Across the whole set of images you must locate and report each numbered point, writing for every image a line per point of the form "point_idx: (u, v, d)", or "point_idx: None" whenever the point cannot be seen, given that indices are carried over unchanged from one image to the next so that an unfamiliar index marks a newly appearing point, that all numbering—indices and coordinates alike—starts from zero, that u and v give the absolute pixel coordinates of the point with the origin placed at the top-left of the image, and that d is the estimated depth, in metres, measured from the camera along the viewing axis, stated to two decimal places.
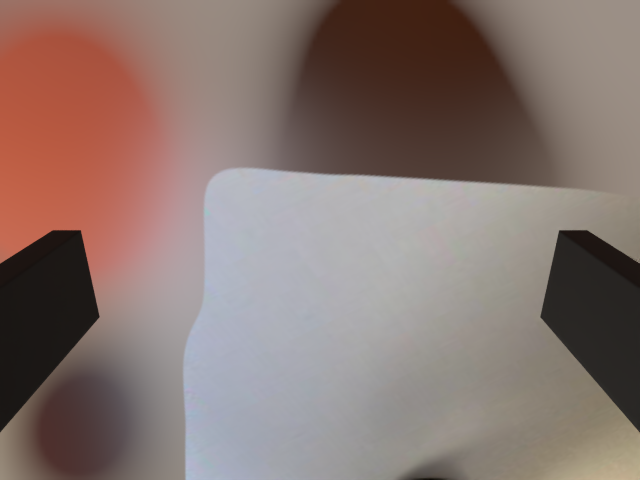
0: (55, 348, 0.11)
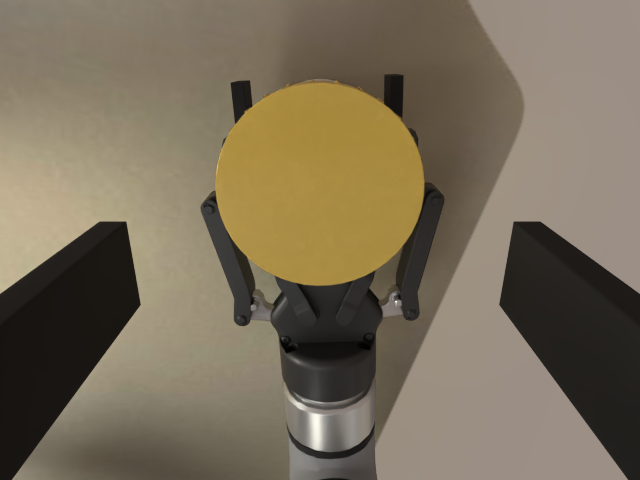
0: (107, 332, 0.11)
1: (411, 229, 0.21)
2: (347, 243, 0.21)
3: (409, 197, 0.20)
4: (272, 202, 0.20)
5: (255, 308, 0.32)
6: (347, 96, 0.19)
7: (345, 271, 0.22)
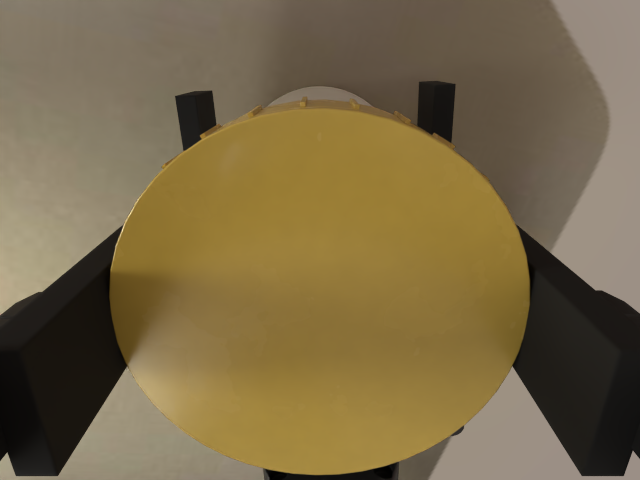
0: None
1: (496, 385, 0.11)
2: (372, 409, 0.11)
3: (497, 331, 0.10)
4: (225, 340, 0.10)
5: None
6: (379, 137, 0.09)
7: (367, 453, 0.12)
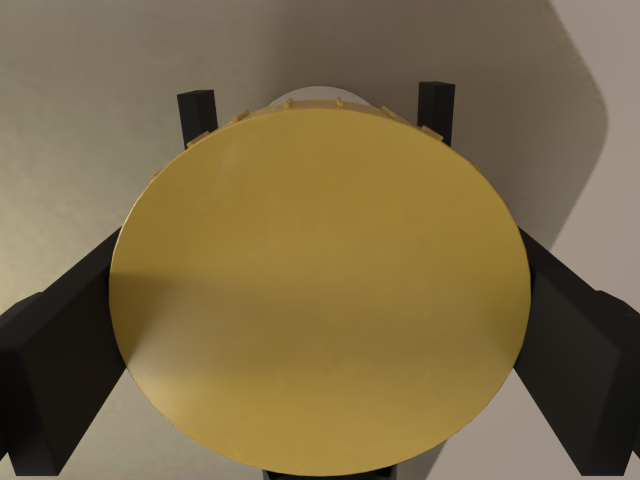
0: None
1: (343, 114, 0.08)
2: (414, 245, 0.09)
3: (268, 150, 0.09)
4: (362, 393, 0.11)
5: None
6: (128, 329, 0.10)
7: (484, 229, 0.09)
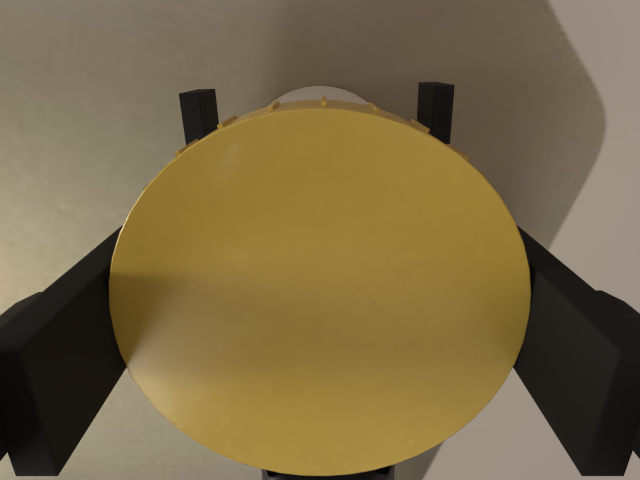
0: None
1: (126, 357, 0.10)
2: (206, 272, 0.10)
3: (176, 398, 0.11)
4: (393, 262, 0.09)
5: None
6: (371, 460, 0.12)
7: (163, 216, 0.09)
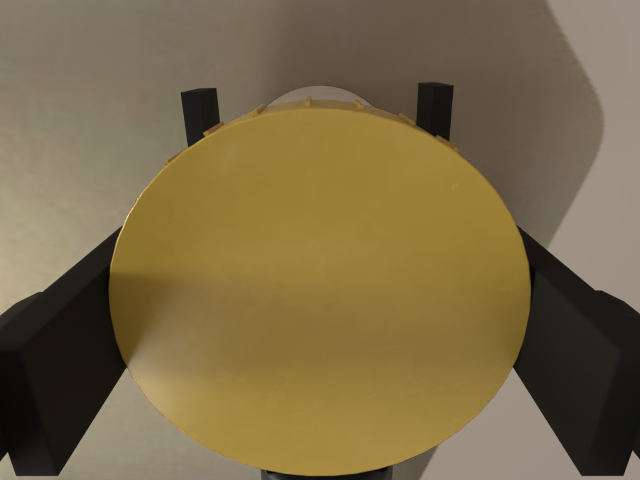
0: None
1: (402, 458, 0.12)
2: (297, 418, 0.11)
3: (440, 419, 0.11)
4: (230, 283, 0.10)
5: None
6: (493, 221, 0.09)
7: (259, 451, 0.11)
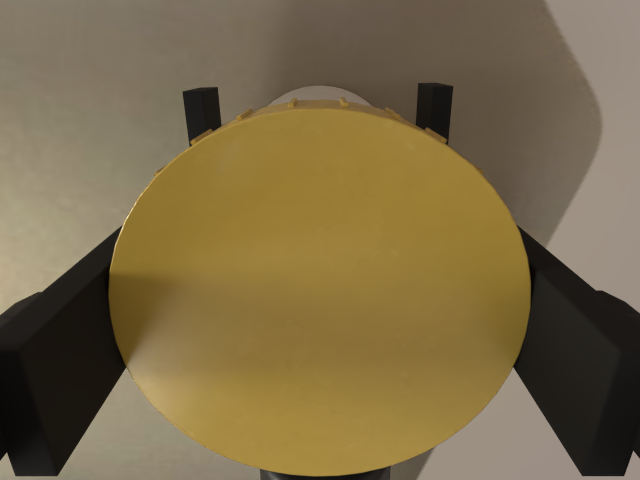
0: None
1: (485, 184, 0.09)
2: (443, 316, 0.10)
3: (410, 164, 0.09)
4: (301, 401, 0.11)
5: None
6: (152, 212, 0.09)
7: (498, 339, 0.10)
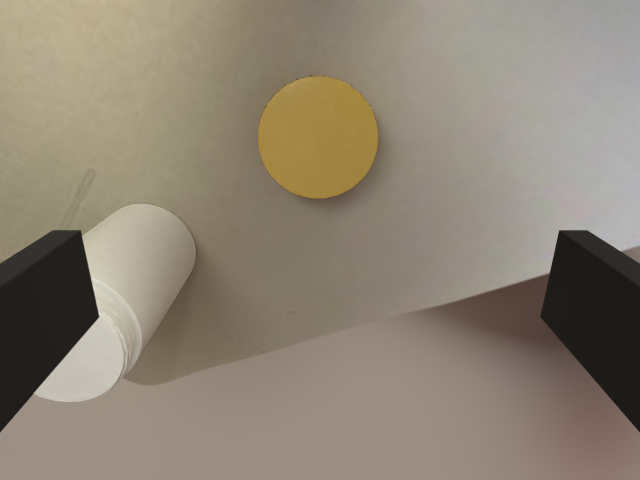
0: (55, 348, 0.11)
1: (361, 97, 0.34)
2: (353, 137, 0.35)
3: (341, 91, 0.33)
4: (312, 168, 0.36)
5: None
6: (273, 105, 0.34)
7: (370, 145, 0.35)
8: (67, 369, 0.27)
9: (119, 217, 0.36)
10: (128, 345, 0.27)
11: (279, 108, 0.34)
